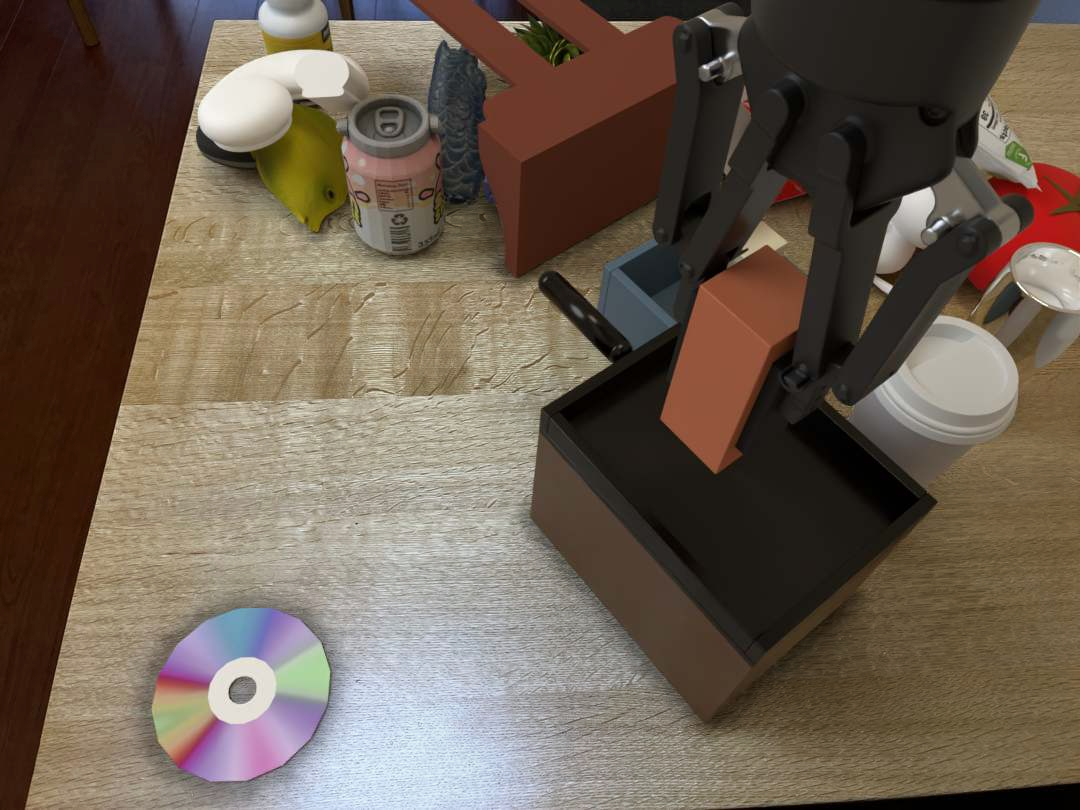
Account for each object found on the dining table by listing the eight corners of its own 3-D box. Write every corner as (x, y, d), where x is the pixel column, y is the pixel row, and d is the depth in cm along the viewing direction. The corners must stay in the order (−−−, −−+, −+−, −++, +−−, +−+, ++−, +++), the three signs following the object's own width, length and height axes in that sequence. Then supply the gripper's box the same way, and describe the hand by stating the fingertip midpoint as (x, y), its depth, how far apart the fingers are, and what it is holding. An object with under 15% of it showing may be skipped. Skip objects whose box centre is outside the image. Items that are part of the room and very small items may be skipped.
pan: (850, 595, 63) (939, 501, 50) (704, 724, 57) (765, 653, 45) (601, 347, 74) (625, 220, 62) (459, 434, 68) (454, 314, 56)
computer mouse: (252, 75, 86) (257, 112, 89) (176, 134, 78) (184, 172, 81) (316, 96, 85) (319, 132, 88) (246, 158, 77) (251, 196, 80)
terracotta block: (772, 433, 44) (838, 301, 35) (715, 475, 42) (771, 347, 34) (715, 380, 45) (766, 243, 37) (659, 419, 44) (699, 284, 36)
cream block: (754, 324, 75) (788, 242, 67) (722, 346, 74) (752, 264, 65) (722, 295, 77) (751, 211, 69) (689, 316, 75) (715, 232, 67)
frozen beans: (761, 47, 67) (1014, 223, 70) (811, -24, 64) (1075, 165, 67) (765, -8, 83) (970, 137, 87) (805, -66, 80) (1018, 87, 83)
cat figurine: (855, 221, 84) (970, 143, 76) (905, 318, 82) (1030, 249, 73) (807, 217, 79) (925, 133, 70) (858, 322, 76) (988, 247, 68)
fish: (284, 228, 76) (385, 217, 82) (226, 68, 77) (328, 70, 84) (275, 243, 78) (373, 231, 84) (218, 87, 80) (319, 87, 86)
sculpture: (228, 82, 81) (193, -1, 75) (387, 70, 79) (365, -16, 73) (194, 166, 74) (152, 82, 67) (369, 154, 72) (342, 67, 66)
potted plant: (629, 174, 80) (475, 111, 78) (609, 169, 93) (475, 115, 90) (682, 43, 77) (524, -27, 75) (654, 55, 90) (517, -5, 87)
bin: (801, 352, 75) (831, 294, 68) (695, 426, 70) (716, 371, 63) (699, 262, 80) (717, 200, 73) (593, 326, 75) (603, 265, 69)
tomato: (915, 205, 82) (993, 123, 73) (1025, 221, 86) (1112, 144, 77) (962, 334, 75) (1054, 260, 67) (1079, 345, 79) (1182, 277, 70)
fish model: (490, 69, 94) (490, 26, 89) (500, 210, 82) (501, 168, 78) (427, 70, 93) (424, 27, 89) (429, 212, 82) (425, 170, 77)
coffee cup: (904, 421, 71) (994, 300, 59) (950, 527, 66) (1059, 419, 54) (792, 431, 70) (859, 310, 58) (829, 540, 65) (912, 433, 52)
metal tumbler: (1016, 394, 73) (1125, 273, 61) (983, 449, 70) (1091, 332, 58) (939, 351, 76) (1030, 224, 63) (904, 401, 72) (992, 279, 60)
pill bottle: (332, 111, 88) (313, 4, 78) (268, 106, 88) (241, -3, 78) (344, 72, 92) (328, -36, 82) (283, 66, 92) (259, -43, 82)
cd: (254, 819, 52) (255, 819, 52) (365, 658, 58) (365, 659, 58) (112, 722, 55) (113, 723, 55) (231, 578, 61) (231, 578, 61)
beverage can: (354, 188, 82) (336, 78, 72) (444, 186, 83) (439, 76, 73) (352, 262, 77) (333, 154, 67) (448, 258, 78) (443, 151, 68)
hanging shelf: (708, 167, 86) (519, 17, 98) (740, 49, 75) (523, -103, 87) (516, 278, 77) (333, 98, 89) (521, 162, 66) (312, -25, 78)
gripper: (604, -194, 25) (553, 327, 44) (1149, 129, 18) (804, 581, 37) (783, -249, 28) (661, 263, 47) (1315, 10, 21) (914, 487, 40)
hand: (725, 403), depth 42 cm, fingers closed on terracotta block, 4 cm apart
